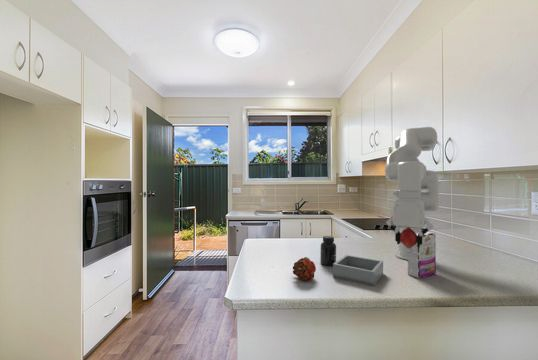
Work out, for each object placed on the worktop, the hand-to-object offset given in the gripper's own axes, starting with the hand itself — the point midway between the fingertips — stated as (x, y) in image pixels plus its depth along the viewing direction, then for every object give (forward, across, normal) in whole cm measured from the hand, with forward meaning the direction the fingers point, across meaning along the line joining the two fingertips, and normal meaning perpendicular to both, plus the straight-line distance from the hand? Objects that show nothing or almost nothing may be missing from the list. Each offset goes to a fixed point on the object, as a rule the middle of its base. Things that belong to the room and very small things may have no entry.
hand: (408, 244), depth 95 cm
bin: (+14, -17, -4) cm, 22 cm away
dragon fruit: (+14, -33, -19) cm, 40 cm away
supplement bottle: (+14, -32, +2) cm, 35 cm away
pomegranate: (+2, 0, 0) cm, 2 cm away
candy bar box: (+14, +3, +12) cm, 19 cm away
